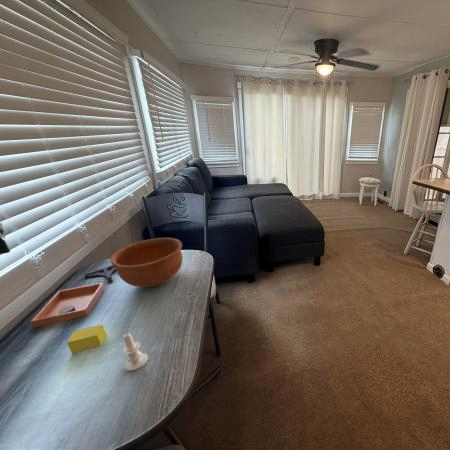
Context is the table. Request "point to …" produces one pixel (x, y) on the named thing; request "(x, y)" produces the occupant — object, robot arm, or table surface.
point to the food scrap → (67, 309)
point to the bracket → (105, 272)
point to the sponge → (86, 338)
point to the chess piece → (133, 354)
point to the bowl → (148, 261)
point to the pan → (77, 297)
